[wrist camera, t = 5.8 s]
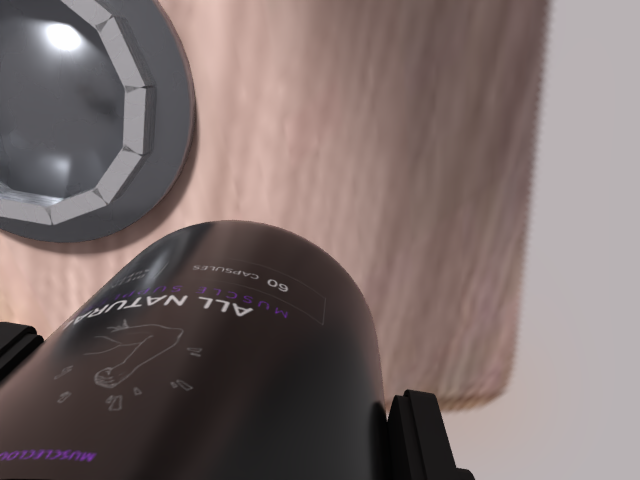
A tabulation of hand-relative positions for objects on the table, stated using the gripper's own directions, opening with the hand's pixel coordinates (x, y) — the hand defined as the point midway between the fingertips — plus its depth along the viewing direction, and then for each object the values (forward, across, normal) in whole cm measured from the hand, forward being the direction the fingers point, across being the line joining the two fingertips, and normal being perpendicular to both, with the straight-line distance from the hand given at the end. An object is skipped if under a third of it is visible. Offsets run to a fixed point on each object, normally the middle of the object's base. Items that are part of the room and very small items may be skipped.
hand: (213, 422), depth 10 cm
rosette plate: (+19, +14, -3) cm, 24 cm away
